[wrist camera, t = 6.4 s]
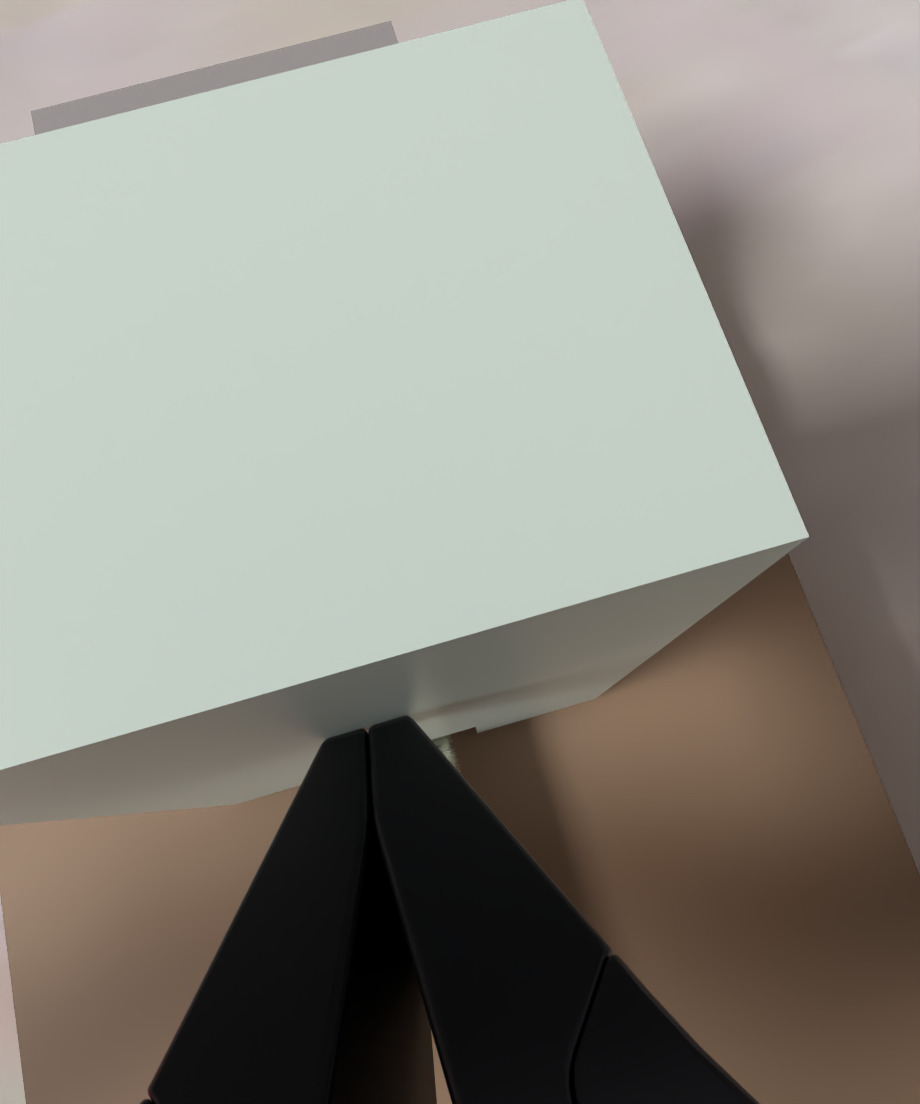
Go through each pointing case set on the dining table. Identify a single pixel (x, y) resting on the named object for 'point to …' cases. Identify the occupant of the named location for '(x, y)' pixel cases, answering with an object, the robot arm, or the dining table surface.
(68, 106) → the rod with end blocks
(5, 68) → the dining table surface
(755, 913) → the cord board
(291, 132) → the notched sage block
